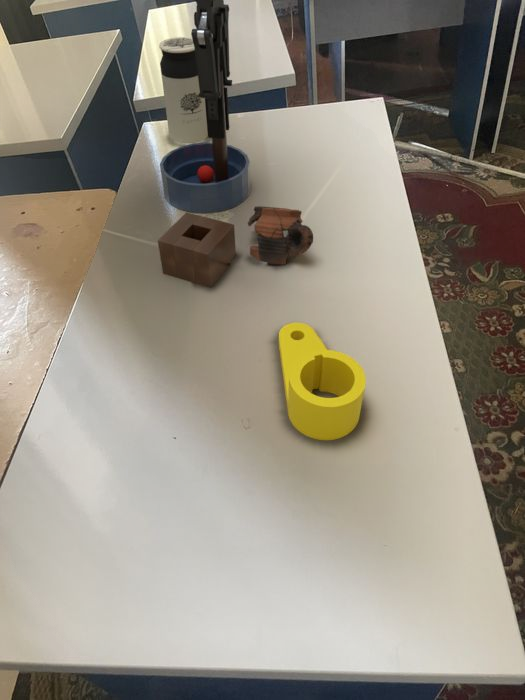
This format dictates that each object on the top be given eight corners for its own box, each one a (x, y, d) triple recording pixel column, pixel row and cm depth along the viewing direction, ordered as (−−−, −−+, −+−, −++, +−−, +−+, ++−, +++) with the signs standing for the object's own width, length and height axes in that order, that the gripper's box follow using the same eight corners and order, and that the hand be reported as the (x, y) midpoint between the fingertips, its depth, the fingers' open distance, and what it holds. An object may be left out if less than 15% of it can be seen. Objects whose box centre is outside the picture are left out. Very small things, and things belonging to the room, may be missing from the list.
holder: (162, 274, 85) (157, 240, 81) (189, 244, 91) (186, 212, 86) (211, 288, 83) (207, 254, 79) (236, 257, 88) (234, 224, 84)
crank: (369, 432, 65) (377, 398, 60) (299, 446, 63) (301, 413, 59) (321, 327, 77) (325, 292, 73) (261, 337, 76) (261, 303, 71)
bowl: (148, 205, 99) (142, 173, 95) (191, 166, 109) (188, 136, 104) (225, 225, 94) (223, 193, 90) (263, 183, 104) (263, 151, 100)
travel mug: (168, 131, 119) (156, 37, 106) (206, 128, 120) (198, 35, 107) (171, 148, 114) (158, 52, 101) (210, 145, 115) (203, 49, 102)
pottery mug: (232, 258, 89) (236, 204, 87) (270, 257, 96) (274, 206, 94) (294, 269, 82) (300, 211, 79) (329, 267, 89) (336, 213, 87)
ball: (195, 183, 102) (193, 168, 100) (203, 176, 104) (201, 161, 102) (209, 187, 102) (208, 171, 99) (217, 179, 103) (216, 164, 101)
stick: (212, 182, 98) (203, 72, 85) (219, 175, 99) (211, 67, 86) (225, 184, 97) (218, 74, 84) (231, 178, 99) (225, 69, 86)
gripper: (222, -25, 70) (231, 156, 86) (245, -52, 80) (250, 114, 97) (163, -26, 71) (184, 153, 87) (194, -53, 81) (207, 111, 98)
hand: (218, 132), depth 92 cm, fingers closed on stick, 2 cm apart
